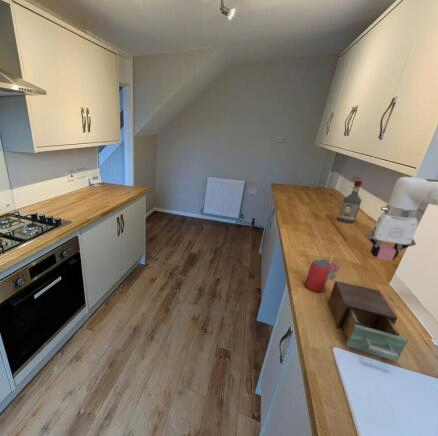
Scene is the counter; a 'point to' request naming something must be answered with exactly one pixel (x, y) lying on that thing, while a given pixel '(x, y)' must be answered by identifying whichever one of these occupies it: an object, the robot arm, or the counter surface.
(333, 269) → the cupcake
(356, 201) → the liquor
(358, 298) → the cabinet
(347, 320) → the drawer
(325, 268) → the beer can
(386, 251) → the block
